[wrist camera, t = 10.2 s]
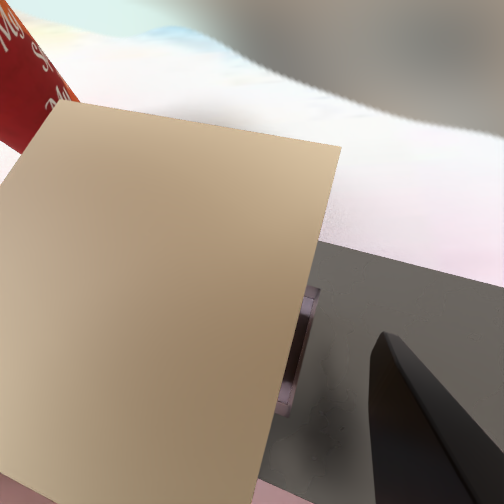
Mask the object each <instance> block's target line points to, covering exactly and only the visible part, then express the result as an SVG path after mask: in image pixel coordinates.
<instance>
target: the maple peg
mask: <svg viewBox="0 0 504 504" xmlns="http://www.w3.org/2000/svg"><path fill="white" fill-rule="evenodd" d="M340 151H341V147H339V146H333V145H327V144H321V143H315V142H310V141H304V140H298V139H292V138H286V137H280V136H274V135H268V134H262V133H257V132H251V131H245V130H239V129H233V128H227V127H221V126H215V125H209V124H204V123H198V122H192V121H186V120H180V119H174V118H168V117H162V116H156V115H151V114H145V113H139V112H133V111H127V110H121V109H115V108H109V107H103V106H98V105H92V104H86V103H80V102H74V101H68V100H62V99H59V101H58V102H57V104H56V105H55V107H54V108H53V110H52V111H51V112H50V114H49V115H48V117H47V118H46V120H45V121H44V123H43V124H42V126H41V127H40V128H39V130H38V131H37V133H36V134H35V136H34V137H33V139H32V140H31V142H30V143H29V144H28V146H27V147H26V149H25V150H24V152H23V153H22V155H21V156H20V158H19V159H18V161H17V162H16V163H15V165H14V166H13V168H12V169H11V171H10V172H9V174H8V175H7V177H6V178H5V179H4V181H3V182H2V184H1V185H0V473H2V474H3V475H5V476H7V477H9V478H11V479H13V480H15V481H16V482H18V483H20V484H22V485H24V486H26V487H28V488H29V489H31V490H33V491H35V492H37V493H39V494H41V495H42V496H44V497H46V498H48V499H50V500H52V501H53V502H55V503H57V504H251V502H252V498H253V494H254V490H255V486H256V482H257V478H258V474H259V470H260V466H261V462H262V458H263V454H264V450H265V447H266V443H267V439H268V435H269V431H270V427H271V423H272V419H273V415H274V411H275V407H276V403H277V399H278V395H279V391H280V387H281V384H282V380H283V376H284V372H285V368H286V364H287V360H288V356H289V352H290V348H291V344H292V340H293V336H294V332H295V328H296V325H297V321H298V317H299V313H300V309H301V305H302V301H303V297H304V293H305V289H306V285H307V281H308V277H309V273H310V269H311V266H312V262H313V258H314V254H315V250H316V246H317V242H318V238H319V234H320V230H321V226H322V222H323V218H324V214H325V210H326V207H327V203H328V199H329V195H330V191H331V187H332V183H333V179H334V175H335V171H336V167H337V163H338V159H339V155H340Z"/></svg>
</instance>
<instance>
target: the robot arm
mask: <svg viewBox="0 0 504 504" xmlns="http://www.w3.org/2000/svg"><path fill="white" fill-rule="evenodd" d="M368 417H369V430H370V442H371V454H372V466H373V478H374V490H375V502H376V504H504V452H503V451H502V450H501V449H500V448H499V447H498V446H497V444H496V443H495V442H494V441H493V440H492V439H491V438H490V437H489V436H488V434H487V433H486V432H485V431H484V430H483V429H482V428H481V427H480V426H479V424H478V423H477V422H476V421H475V420H474V419H473V418H472V417H471V416H470V414H469V413H468V412H467V411H466V410H465V409H464V408H463V407H462V406H461V404H460V403H459V402H458V401H457V400H456V399H455V398H454V397H453V396H452V394H451V393H450V392H449V391H448V390H447V389H446V388H445V387H444V386H443V384H442V383H441V382H440V381H439V380H438V379H437V378H436V377H435V376H434V374H433V373H432V372H431V371H430V370H429V369H428V368H427V367H426V366H425V364H424V363H423V362H422V361H421V360H420V359H419V358H418V357H417V356H416V354H415V353H414V352H413V351H412V350H411V349H410V348H409V347H408V346H407V344H406V343H405V342H404V341H403V340H402V339H401V338H400V337H399V336H398V335H396V334H392V333H389V332H386V331H383V332H382V333H381V334H380V335H379V337H378V339H377V341H376V343H375V345H374V347H373V349H372V352H371V355H370V367H369V395H368Z"/></svg>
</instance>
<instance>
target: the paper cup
mask: <svg viewBox="0 0 504 504" xmlns="http://www.w3.org/2000/svg"><path fill="white" fill-rule="evenodd" d="M59 99H62V100H68V101H74V102H80V101H79V100H78V98H77V97H76V96H75V94H74V93H73V92H72V90H71V89H70V87H69V86H68V85H67V83H66V82H65V81H64V79H63V78H62V77H61V75H60V74H59V72H58V71H57V70H56V68H55V67H54V66H53V64H52V63H51V62H50V60H49V59H48V58H47V56H46V55H45V53H44V52H43V51H42V49H41V48H40V47H39V45H38V44H37V43H36V41H35V40H34V39H33V37H32V36H31V35H30V33H29V32H28V30H27V29H26V28H25V26H24V25H23V24H22V22H21V21H20V20H19V18H18V17H17V16H16V14H15V13H14V12H13V10H12V9H11V8H10V6H9V5H8V3H7V2H6V1H5V0H0V141H2V142H3V143H5V144H6V145H8V146H9V147H11V148H12V149H14V150H16V151H17V152H19V153H20V154H22V153H23V152H24V150H25V149H26V147H27V146H28V144H29V143H30V142H31V140H32V139H33V137H34V136H35V134H36V133H37V131H38V130H39V128H40V127H41V126H42V124H43V123H44V121H45V120H46V118H47V117H48V115H49V114H50V112H51V111H52V110H53V108H54V107H55V105H56V104H57V102H58V101H59ZM80 103H81V102H80Z"/></svg>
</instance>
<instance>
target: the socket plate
mask: <svg viewBox="0 0 504 504" xmlns="http://www.w3.org/2000/svg"><path fill="white" fill-rule="evenodd" d="M304 296H306V297H309V298H313V299H314V302H313V306H312V310H311V314H310V318H309V322H308V326H307V330H306V334H305V338H304V341H303V345H302V349H301V353H300V357H299V361H298V365H297V369H296V373H295V377H294V381H293V385H292V388H291V392H290V396H289V400H288V404H284V403H282V402H279V401H277V403H276V407H275V411H274V415H273V419H272V423H271V427H270V431H269V435H268V439H267V443H266V447H265V450H264V454H263V458H262V462H261V466H260V470H259V474H258V478H259V479H261V480H263V481H265V482H268V483H270V484H272V485H274V486H277V487H279V488H281V489H283V490H285V491H288V492H290V493H292V494H294V495H296V496H299V497H301V498H303V499H305V500H307V501H310V502H312V503H314V504H376V502H375V490H374V478H373V466H372V454H371V442H370V430H369V417H368V395H369V367H370V355H371V352H372V349H373V347H374V345H375V343H376V341H377V339H378V337H379V335H380V334H381V333H382V332H383V331H386V332H389V333H392V334H396V335H398V336H399V337H400V338H401V339H402V340H403V341H404V342H405V343H406V344H407V346H408V347H409V348H410V349H411V350H412V351H413V352H414V353H415V354H416V356H417V357H418V358H419V359H420V360H421V361H422V362H423V363H424V364H425V366H426V367H427V368H428V369H429V370H430V371H431V372H432V373H433V374H434V376H435V377H436V378H437V379H438V380H439V381H440V382H441V383H442V384H443V386H444V387H445V388H446V389H447V390H448V391H449V392H450V393H451V394H452V396H453V397H454V398H455V399H456V400H457V401H458V402H459V403H460V404H461V406H462V407H463V408H464V409H465V410H466V411H467V412H468V413H469V414H470V416H471V417H472V418H473V419H474V420H475V421H476V422H477V423H478V424H479V426H480V427H481V428H482V429H483V430H484V431H485V432H486V433H487V434H488V436H489V437H490V438H491V439H492V440H493V441H494V442H495V443H496V444H497V446H498V447H499V448H500V449H501V450H502V451H503V452H504V288H503V287H499V286H495V285H491V284H487V283H483V282H479V281H475V280H471V279H467V278H464V277H460V276H456V275H452V274H448V273H444V272H440V271H436V270H432V269H428V268H424V267H420V266H416V265H412V264H408V263H405V262H401V261H397V260H393V259H389V258H385V257H381V256H377V255H373V254H369V253H365V252H361V251H357V250H353V249H349V248H346V247H342V246H338V245H334V244H330V243H326V242H322V241H318V242H317V246H316V250H315V254H314V258H313V262H312V266H311V269H310V273H309V277H308V281H307V285H306V289H305V293H304Z"/></svg>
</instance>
